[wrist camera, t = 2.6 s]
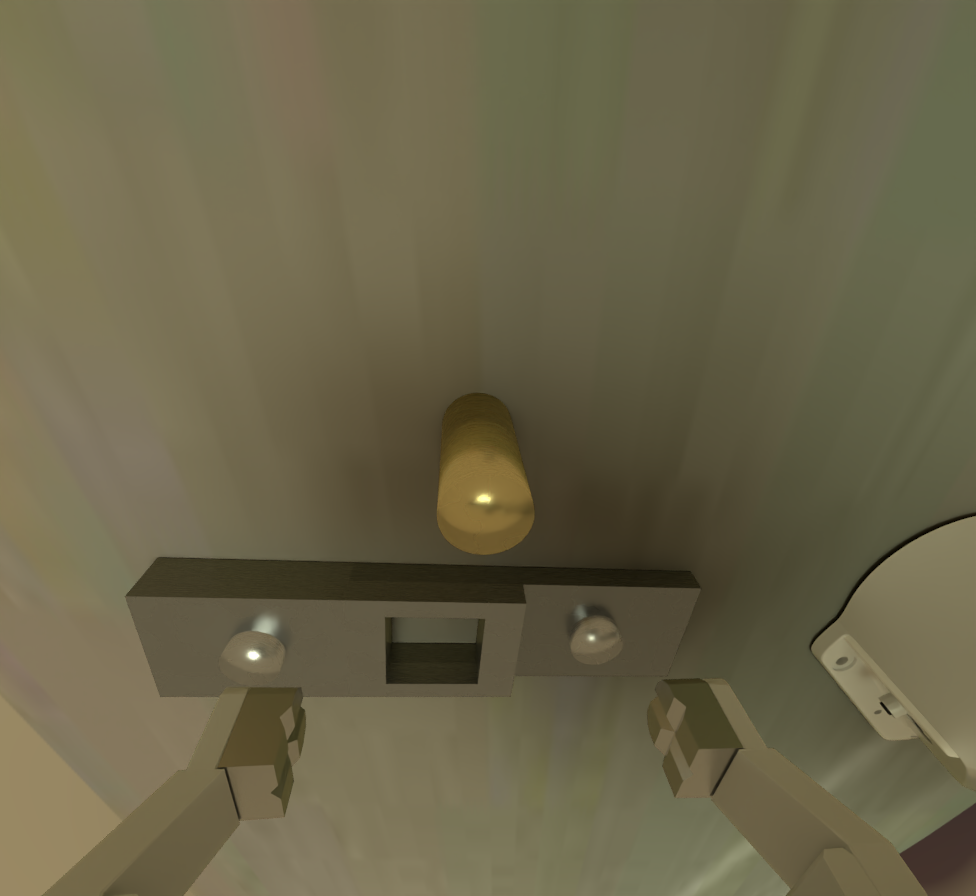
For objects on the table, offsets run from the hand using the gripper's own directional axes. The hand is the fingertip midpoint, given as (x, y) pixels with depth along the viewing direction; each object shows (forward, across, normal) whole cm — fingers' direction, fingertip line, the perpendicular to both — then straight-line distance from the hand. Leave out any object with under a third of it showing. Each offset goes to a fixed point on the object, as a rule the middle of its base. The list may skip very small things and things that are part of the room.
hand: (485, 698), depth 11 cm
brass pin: (+15, -1, 0) cm, 15 cm away
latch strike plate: (+15, +1, +14) cm, 20 cm away
